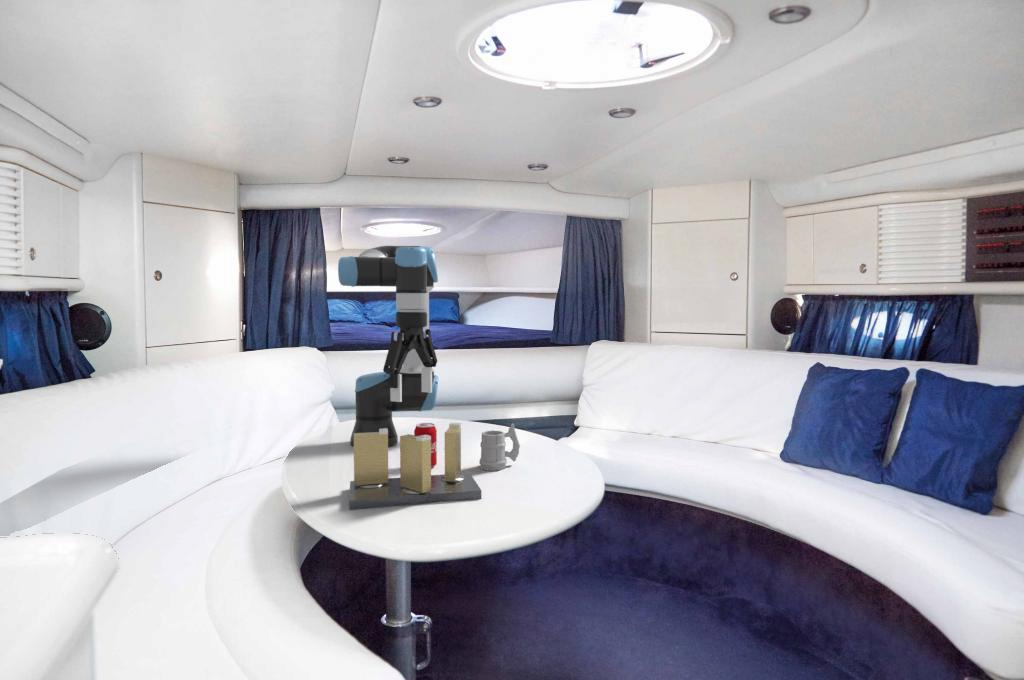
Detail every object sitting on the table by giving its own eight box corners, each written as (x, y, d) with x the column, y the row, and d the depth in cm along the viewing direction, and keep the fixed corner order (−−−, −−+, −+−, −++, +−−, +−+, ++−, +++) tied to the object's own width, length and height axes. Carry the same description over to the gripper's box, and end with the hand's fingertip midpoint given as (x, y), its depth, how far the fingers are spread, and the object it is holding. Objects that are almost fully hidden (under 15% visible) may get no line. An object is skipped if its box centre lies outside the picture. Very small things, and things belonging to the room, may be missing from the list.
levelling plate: (350, 489, 143) (350, 479, 143) (469, 480, 151) (469, 471, 151) (349, 509, 129) (349, 499, 129) (481, 498, 136) (481, 488, 136)
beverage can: (432, 470, 160) (432, 427, 159) (411, 469, 161) (410, 426, 160) (439, 464, 166) (439, 423, 165) (419, 463, 167) (418, 422, 166)
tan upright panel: (455, 481, 142) (455, 429, 141) (444, 481, 142) (444, 429, 141) (461, 472, 149) (460, 423, 149) (450, 471, 150) (450, 422, 149)
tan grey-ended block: (400, 485, 138) (399, 432, 137) (409, 483, 140) (408, 430, 139) (422, 492, 133) (422, 437, 132) (431, 490, 135) (430, 435, 134)
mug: (475, 465, 165) (475, 423, 164) (514, 461, 169) (514, 420, 169) (484, 472, 158) (484, 429, 157) (524, 468, 162) (524, 425, 162)
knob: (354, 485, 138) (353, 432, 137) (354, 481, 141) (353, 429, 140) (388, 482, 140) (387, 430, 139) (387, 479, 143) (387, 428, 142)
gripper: (425, 309, 154) (426, 387, 156) (366, 312, 132) (368, 404, 133) (450, 309, 151) (450, 389, 153) (394, 313, 129) (395, 407, 130)
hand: (412, 396), depth 143 cm, fingers open, 13 cm apart
